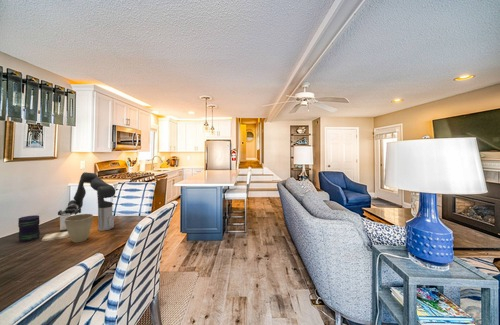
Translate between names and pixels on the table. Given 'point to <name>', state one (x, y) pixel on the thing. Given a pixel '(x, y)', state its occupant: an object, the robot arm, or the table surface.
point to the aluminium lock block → (63, 222)
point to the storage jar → (28, 228)
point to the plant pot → (79, 226)
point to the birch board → (55, 236)
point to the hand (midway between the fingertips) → (68, 214)
